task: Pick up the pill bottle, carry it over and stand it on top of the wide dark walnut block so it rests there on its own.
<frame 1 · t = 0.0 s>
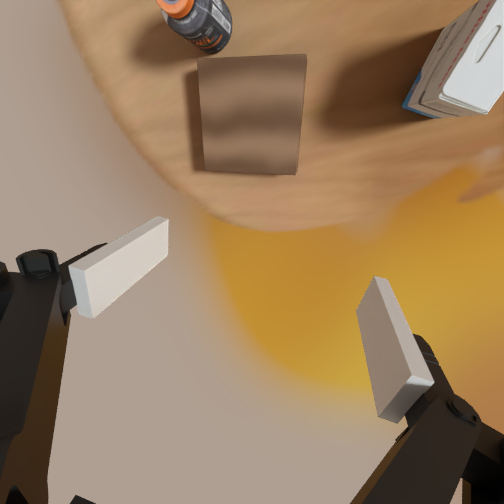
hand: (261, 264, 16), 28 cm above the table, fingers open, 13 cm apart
ink box: (438, 76, 31), on the table
pill bottle: (213, 27, 34), on the table
walnut block: (255, 120, 37), on the table
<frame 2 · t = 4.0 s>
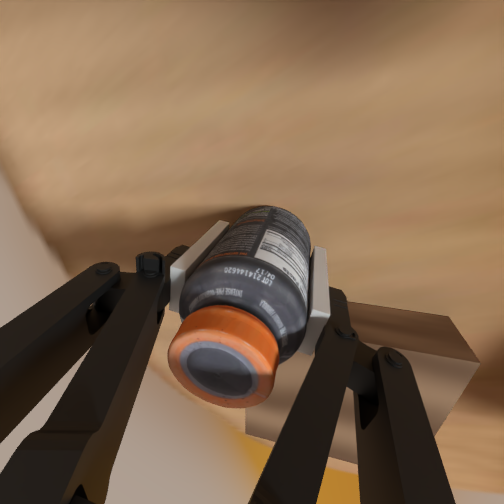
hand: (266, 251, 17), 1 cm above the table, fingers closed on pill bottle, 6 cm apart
pill bottle: (270, 242, 19), on the table, touching gripper
walnut block: (331, 363, 22), on the table
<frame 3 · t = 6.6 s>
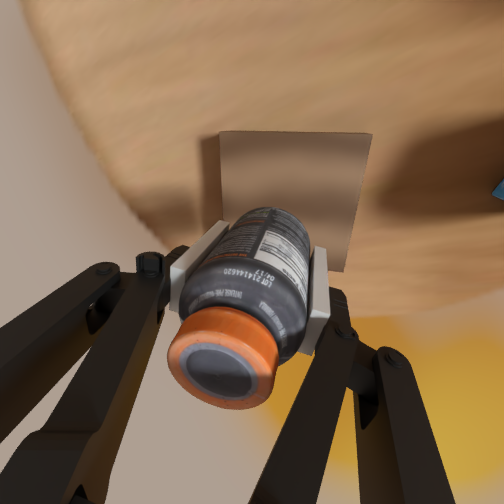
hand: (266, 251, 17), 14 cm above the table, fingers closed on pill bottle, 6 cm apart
pill bottle: (270, 242, 19), point 13 cm above the table, touching gripper
walnut block: (289, 197, 29), on the table
when the fingers open (6 cm above the table, at t = 9.3 s): pill bottle stays where it is, resting on walnut block.
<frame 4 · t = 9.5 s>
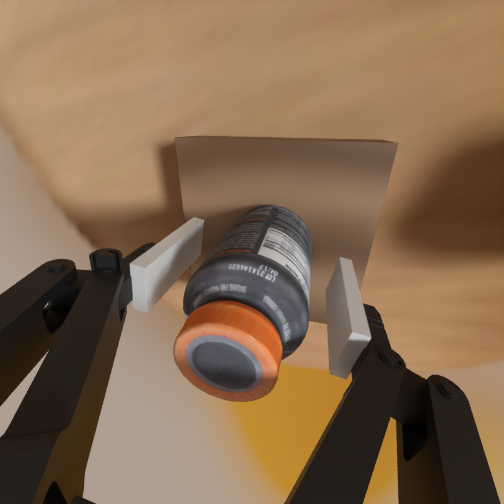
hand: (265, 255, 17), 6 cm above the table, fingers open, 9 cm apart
pill bottle: (272, 240, 19), point 4 cm above the table, touching walnut block
walnut block: (278, 223, 22), on the table
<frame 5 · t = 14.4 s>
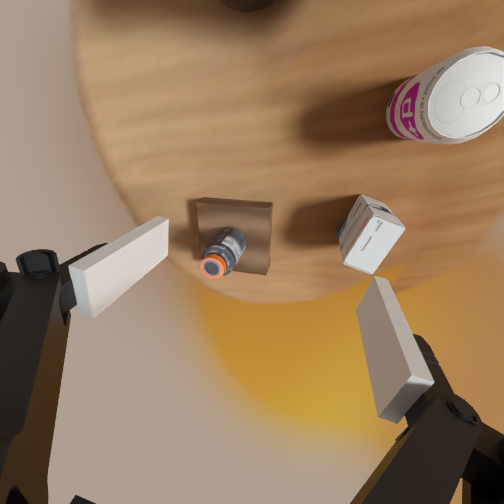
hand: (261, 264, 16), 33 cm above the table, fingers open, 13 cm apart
ink box: (360, 219, 45), on the table
pill bottle: (232, 239, 48), point 4 cm above the table, touching walnut block
walnut block: (238, 232, 52), on the table
supplement can: (415, 108, 36), on the table
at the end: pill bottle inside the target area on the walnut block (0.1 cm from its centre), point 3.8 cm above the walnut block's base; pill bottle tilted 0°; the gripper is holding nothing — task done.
